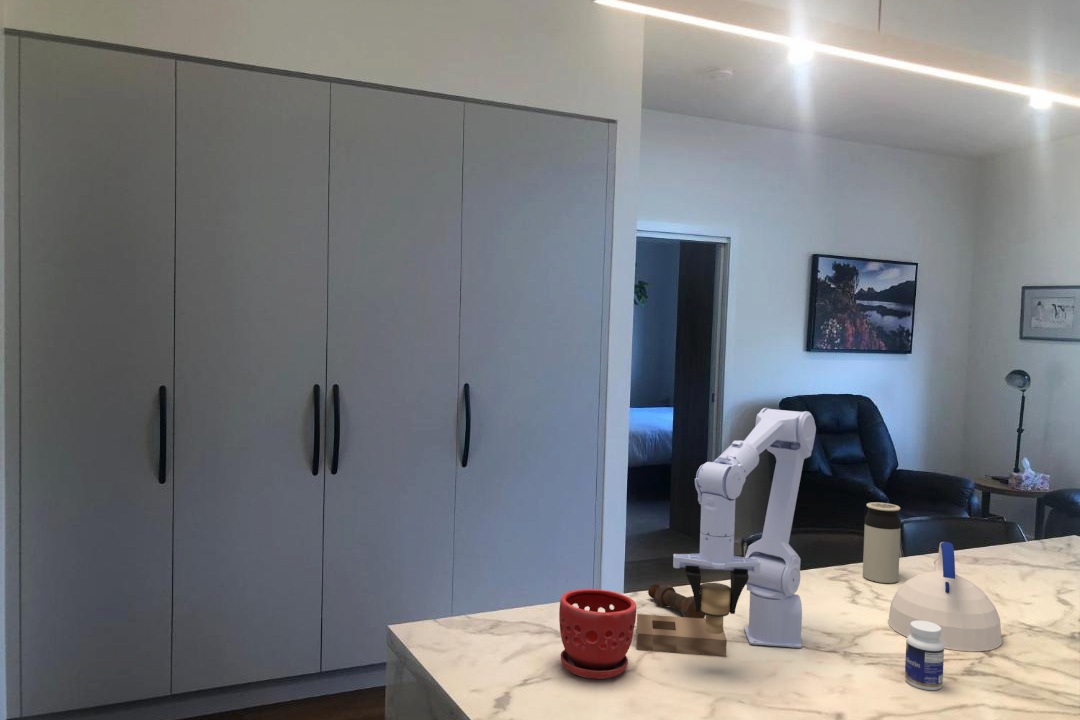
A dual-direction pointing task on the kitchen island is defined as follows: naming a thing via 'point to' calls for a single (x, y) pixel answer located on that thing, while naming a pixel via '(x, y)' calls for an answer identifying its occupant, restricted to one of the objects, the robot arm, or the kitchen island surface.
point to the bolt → (674, 600)
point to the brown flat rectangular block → (678, 635)
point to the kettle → (947, 607)
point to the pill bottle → (924, 656)
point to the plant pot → (596, 632)
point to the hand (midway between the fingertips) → (714, 610)
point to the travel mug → (881, 543)
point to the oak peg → (714, 605)
